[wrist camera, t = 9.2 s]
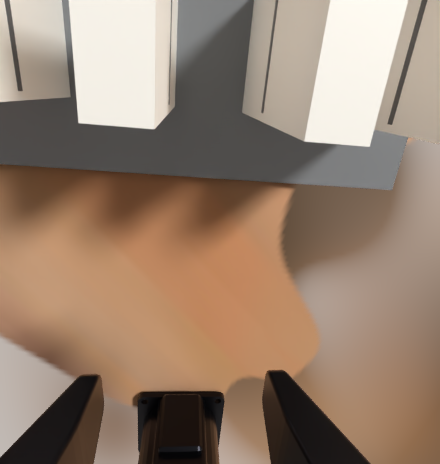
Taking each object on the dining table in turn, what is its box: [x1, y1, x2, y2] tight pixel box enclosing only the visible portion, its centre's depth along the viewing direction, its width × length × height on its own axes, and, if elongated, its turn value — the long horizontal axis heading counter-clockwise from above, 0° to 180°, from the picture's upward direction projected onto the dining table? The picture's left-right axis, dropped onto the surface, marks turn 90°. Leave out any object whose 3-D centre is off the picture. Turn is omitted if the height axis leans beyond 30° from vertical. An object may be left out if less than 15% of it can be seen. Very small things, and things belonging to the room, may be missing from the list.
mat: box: [0, 0, 408, 190], centre depth 16 cm, size 12×26×1 cm, turn 85°
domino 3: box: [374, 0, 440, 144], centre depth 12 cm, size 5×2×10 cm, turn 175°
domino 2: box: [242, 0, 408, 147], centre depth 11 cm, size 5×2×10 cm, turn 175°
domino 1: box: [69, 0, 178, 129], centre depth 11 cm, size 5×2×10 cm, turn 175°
